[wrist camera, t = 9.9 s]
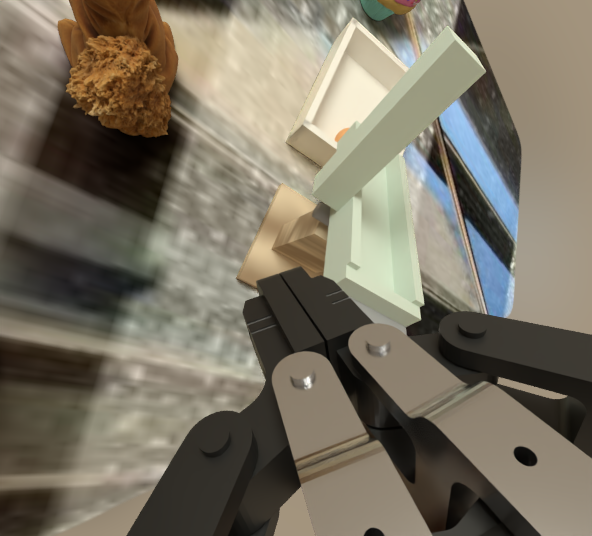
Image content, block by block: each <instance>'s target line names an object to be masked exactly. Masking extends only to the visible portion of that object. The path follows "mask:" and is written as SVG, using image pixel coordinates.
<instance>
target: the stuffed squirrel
mask: <svg viewBox="0 0 592 536" xmlns="http://www.w3.org/2000/svg"><path fill="white" fill-rule="evenodd" d="M69 2H70V5H71V7H72V10H73V13H74V16H75V19H76V21H77V22H75V21H73V20H69V19H63V20H61V21H58V31H59V35H60V38H61V42H62V44H63V47H64V49H65V52H66V54H67V57H68V59H69V61H70V64H71V66H72V68H71V70H70V73H71V78H69V82H70V83H69V84H67V85H66V86H67V91H66V92H68V93H70V95H72V98H75V99H76V100H77V104H76V105H74V106H73V107H74V108H76V107H77V108H79V107H82V110H86V113H85V115H87V113H88V114H89V115H92V116H99V118H98V120H100V122H101V124H102V125H103V126H106V127H107V128H108V127H109V128H114V129H115V128H116V129H119V130H120V131H121V132H123V133H125V134H128V135H133V136H134V135H135V136H137V135H143V136H144V137H147V138H148V137H153V136H154V137H157V136H160V135H165V134H166V135H168V133H167V131H166V130H167V129H168V125H167V124H168V121H169V120H170V118H171V107H170V104H171V101H170V96H169V95H168V93H169V91H170V89H171V86H172V84H173V81H174V79H175V76H176V72H177V66H178V56H177V53H176V51H175V46H174V40H173V36H172V32H171V29H170V26H169V25H168V24H167V23H166V22H162V19H161V16H160V13H159V10H158V8H157V5H156V3H155V1H154V0H69Z"/></svg>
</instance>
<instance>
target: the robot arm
mask: <svg viewBox="0 0 592 536" xmlns="http://www.w3.org/2000/svg"><path fill="white" fill-rule="evenodd" d="M256 285H257V289H258V292H259V296H258V297H256V298H253V299H250V300H247V301H245V305H244V309H243V315H244V319H245V322H246V325H247V328H248V331H249V335H250V338H251V341H252V344H253V347H254V350H255V353H256V356H257V358H258V361H259V363H260V366H261V369H262V371H263V374H264V377H265V379H266V382H265V385H264V388H263V390H262V392H261V393H260V395H259V396H258V398H257V399H256V400H255V401H254V402H253V403H252V404H250V405H249V406H248V407H247V408H245V409H244V410H243V411H242V412H240V413H237V412H234V411H220V412H216V413H213V414H211V415H209V416H207V417H205V418H203V419H202V420H201V421H199V422H198V423H197V424H196V425H195V426H194V427H193V428H192V429H191V430H190V432H189V433H188V434H187V436H186V438H185V439H184V441H183V443H182V444H181V446H180V448H179V449H178V451H177V453H176V454H175V456H174V458H173V459H172V461H171V463H170V464H169V466H168V468H167V469H166V471H165V473H164V474H163V476H162V478H161V479H160V481H159V482H158V484H157V486H156V487H155V489H154V491H153V492H152V494H151V496H150V498H149V499H148V501H147V503H146V504H145V506H144V507H143V509H142V511H141V512H140V514H139V516H138V518H137V519H136V521H135V522H134V524H133V526H132V527H131V529H130V531H129V532H128V534H127V536H273V535H274V532H275V528H276V525H277V521H278V518H279V510H280V507H281V506H282V505H283V504H284V503H285V502H286V501H287V500H288V499H289V498H290V497H291V496H292V495H293V494H294V493H295V492H296V491H297V490H298V489H299V488H300V487H302V490H303V494H304V497H305V500H306V504H307V508H308V511H309V515H310V518H311V521H312V525H313V528H314V532H315V536H592V335H590V334H584V333H580V332H574V331H569V330H564V329H559V328H554V327H549V326H543V325H538V324H533V323H528V322H523V321H518V320H512V319H507V318H502V317H497V316H492V315H487V314H481V313H476V312H467V311H463V312H455V313H452V314H449V315H447V316H446V317H444V318H443V319H442V320H441V322H440V325H439V333H434V334H426V335H419V336H407V335H405V334H404V333H403V332H402V331H400V330H399V329H398V328H396V327H394V326H391V325H387V324H381V323H374V322H373V321H372V320H371V319H370V318H369V317H368V316H367V315H366V314H365V313H364V312H363V311H362V310H361V309H360V308H359V307H358V306H357V305H356V304H355V302H354V301H353V300H352V299H351V298H349V296H348V295H347V294H346V293H345V292H344V291H342V289H341V288H340V287H339V286H338V285H337V284H336V283H335V281H334V280H331V279H329V278H326V277H324V276H322V275H319V276H316V277H314V278H311V277H310V276H309V275H308V273H307V272H306V271H305V270H304V269H303V268H302V267H301V266H299V267H296V268H293V269H290V270H287V271H284V272H281V273H279V274H275V275H272V276H269V277H266V278H263V279H260V280H257V281H256ZM498 377H501V378H505V379H509V380H513V381H516V382H520V383H524V384H527V385H531V386H534V387H538V388H542V389H546V390H549V391H553V392H556V393H560V394H563V395H567V397H566V398H563V399H549V398H546V397H542V396H539V395H535V394H531V393H528V392H525V391H521V390H517V389H514V388H510V387H507V386H503V385H500V384H497V382H498Z"/></svg>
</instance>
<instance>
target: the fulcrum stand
mask: <svg viewBox="0 0 592 536" xmlns="http://www.w3.org/2000/svg"><path fill="white" fill-rule="evenodd" d="M326 205H327V204H326ZM316 206H317V205H316V204H314V203H313V202H311V201H310V200H308V199H307V198H305V197H303V196H302V195H300V194H299V193H297V192H296V191H294V190H293V189H291V188H289V187H288V186H286V185H285V184H283V183H282V184H281V185H279V187H278V189H277V191H276V193H275V196H274V198H273V200H272V202H271V204H270V206H269V209H268V211H267V213H266V215H265V217H264V219H263V221H262V224H261V226H260V228H259V230H258V232H257V234H256V236H255V239H254V241H253V243H252V245H251V247H250V249H249V251H248V254H247V256H246V258H245V260H244V262H243V264H242V266H241V269H240V271H239V273H238V275H237V277H236V278H237V279H239V280H241V281H243V282H245V283H247V284H249V285H251V286H253V287H255V288H257V285H256V281H257V280H260V279H263V278H266V277H269V276H272V275H275V274H279V273H281V272H284V271H287V270H290V269H293V268H296V267H299V266H301V267H302V268H303V269H304V270H305V271H306V272H307V273H308V275H309V276H310V277H311V278H314V277H316V276H319V275H322V276H323V274H324V264H325V255H326V246H327V236H328V226H326V225H325V224H323V223H322V222H320V221H318V220H317V219H315V218H314V217H312V213H313V211H314V209H315V207H316ZM327 206H328V205H327ZM329 207H330V206H329ZM330 208H331V207H330Z"/></svg>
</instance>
